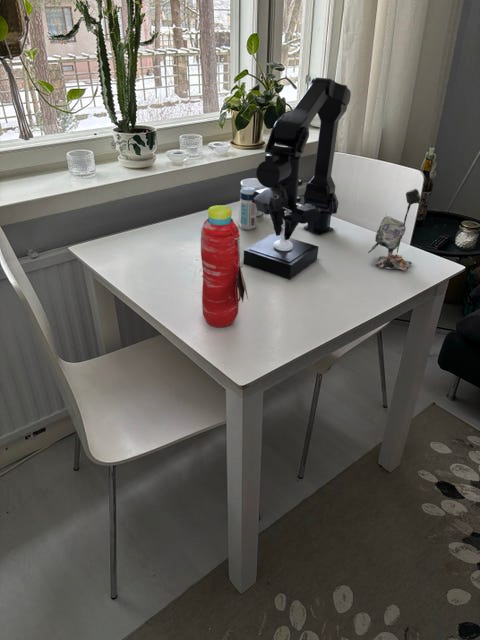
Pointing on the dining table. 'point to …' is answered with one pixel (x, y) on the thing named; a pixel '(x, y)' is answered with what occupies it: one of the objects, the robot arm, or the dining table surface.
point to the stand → (280, 257)
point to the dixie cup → (254, 183)
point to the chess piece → (283, 239)
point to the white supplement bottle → (247, 208)
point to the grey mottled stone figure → (394, 236)
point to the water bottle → (221, 267)
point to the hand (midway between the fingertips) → (282, 237)
